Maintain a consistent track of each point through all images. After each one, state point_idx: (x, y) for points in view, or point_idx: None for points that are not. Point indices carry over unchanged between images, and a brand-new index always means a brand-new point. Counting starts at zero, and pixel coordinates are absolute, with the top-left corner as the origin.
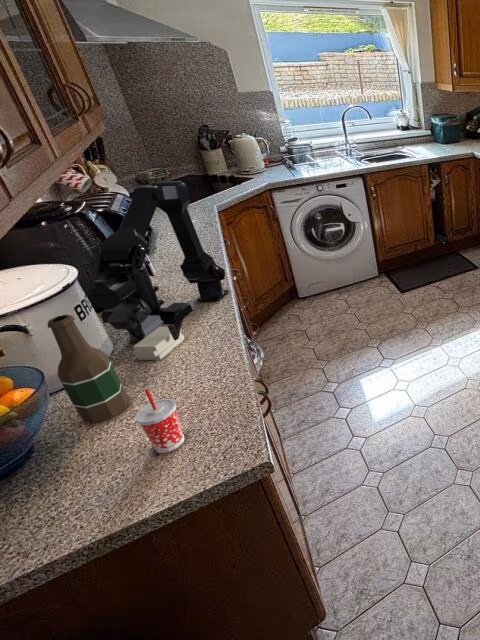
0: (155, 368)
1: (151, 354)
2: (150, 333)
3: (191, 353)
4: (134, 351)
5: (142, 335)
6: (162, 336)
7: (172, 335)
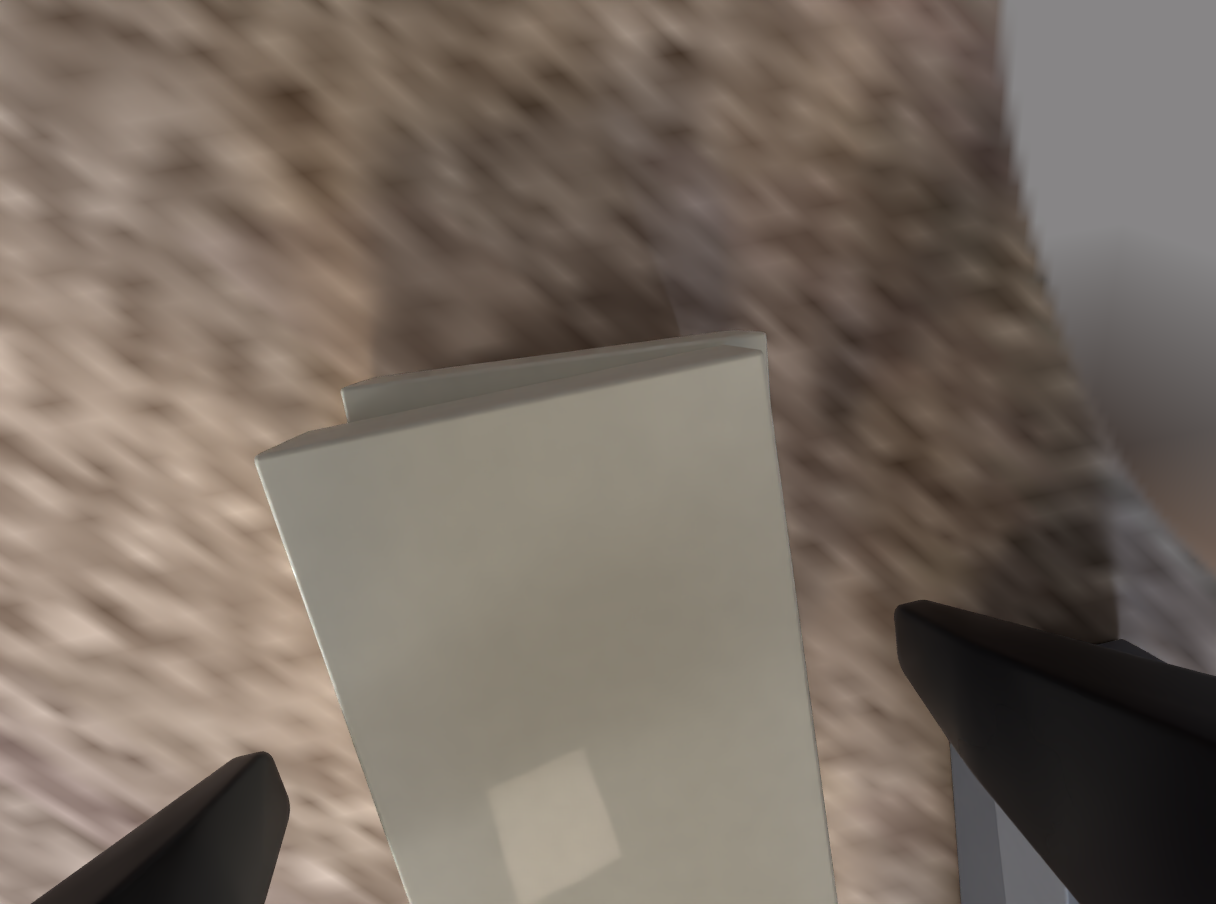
0: (236, 208)
1: (420, 375)
2: (985, 800)
3: (76, 612)
4: (732, 336)
5: (934, 710)
6: (484, 776)
7: (132, 855)
